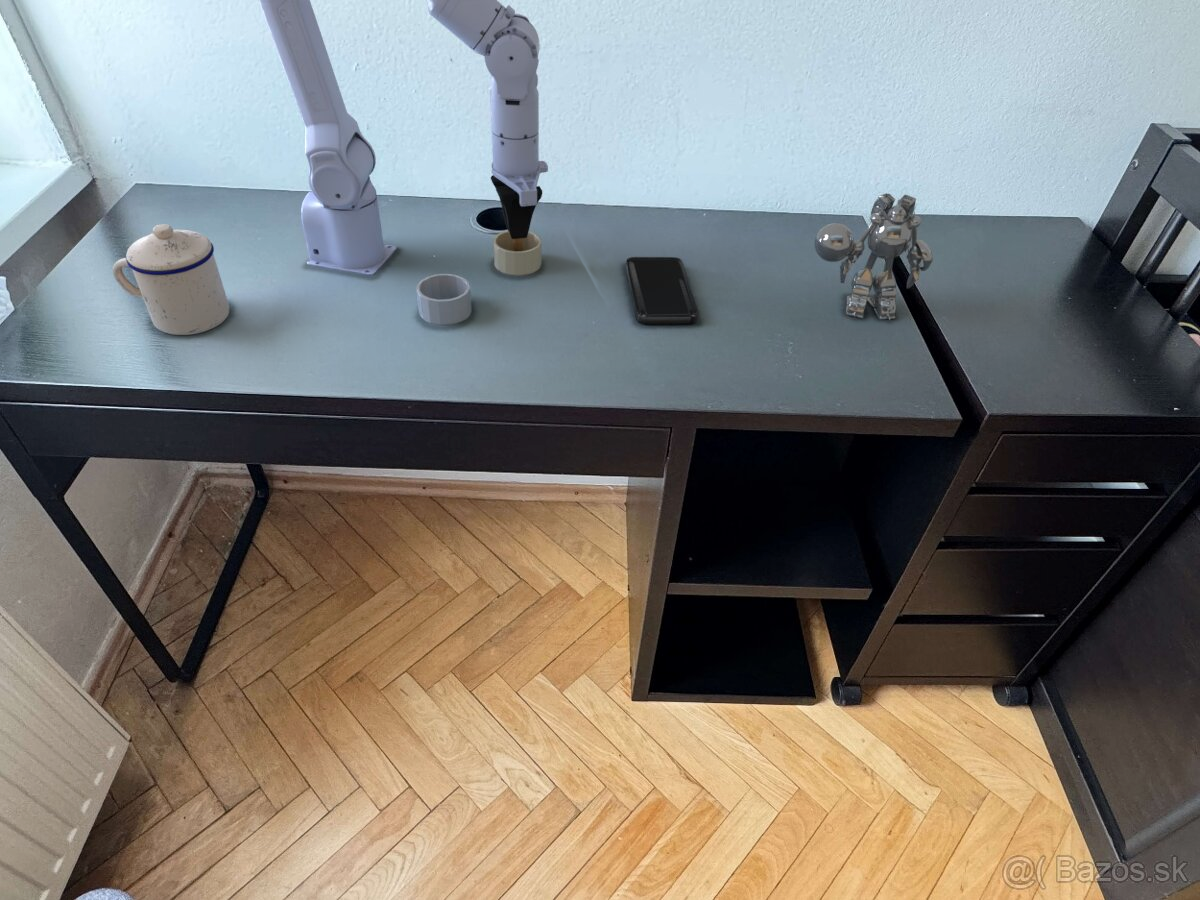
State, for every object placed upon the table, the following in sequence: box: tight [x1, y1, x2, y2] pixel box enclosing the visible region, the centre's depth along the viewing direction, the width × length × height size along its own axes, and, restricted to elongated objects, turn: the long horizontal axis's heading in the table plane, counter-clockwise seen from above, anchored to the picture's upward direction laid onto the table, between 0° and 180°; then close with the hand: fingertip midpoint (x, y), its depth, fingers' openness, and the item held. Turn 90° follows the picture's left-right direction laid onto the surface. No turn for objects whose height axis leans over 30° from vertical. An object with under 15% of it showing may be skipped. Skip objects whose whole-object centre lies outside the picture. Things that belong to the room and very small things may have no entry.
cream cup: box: [492, 230, 543, 276], centre depth 108 cm, size 6×6×4 cm
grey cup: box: [416, 273, 473, 326], centre depth 99 cm, size 6×6×4 cm
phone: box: [625, 256, 699, 325], centre depth 106 cm, size 8×1×15 cm
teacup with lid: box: [112, 223, 231, 336], centre depth 93 cm, size 12×9×12 cm
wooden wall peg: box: [513, 238, 522, 251], centre depth 107 cm, size 3×2×7 cm
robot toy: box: [814, 192, 933, 320], centre depth 101 cm, size 15×6×15 cm, turn 87°
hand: (517, 233), depth 106 cm, fingers closed
